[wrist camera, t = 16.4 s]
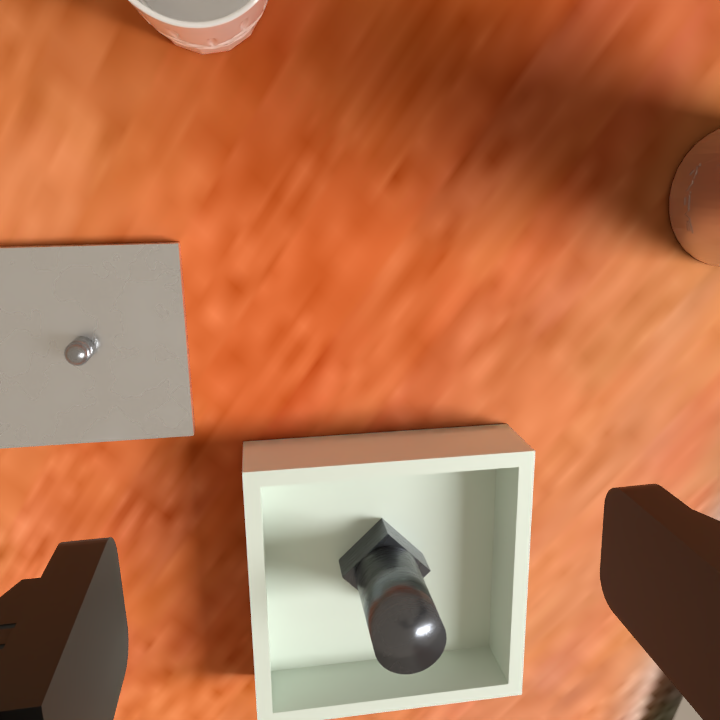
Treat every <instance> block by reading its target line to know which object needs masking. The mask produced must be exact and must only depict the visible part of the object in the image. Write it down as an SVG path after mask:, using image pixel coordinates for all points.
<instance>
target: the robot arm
mask: <svg viewBox="0 0 720 720" xmlns="http://www.w3.org/2000/svg"><path fill="white" fill-rule="evenodd" d="M669 215H670V220H671V225H672V228H673V231H674V233H675V235H676V238H677V240H678V241H679V243H680V244H681V245H682V247H683V248H684V249H685V251H687V252H688V253H689V254H690V255H691V256H693V257H694V258H695V259H697V260H699V261H701V262H704V263H706V264H710V265H715V266H720V129H718V130H716V131H714V132H712V133H710V134H708V135H707V136H706V137H704V138H703V139H702V140H700V141H699V142H698V143H696V145H695V146H694V147H693V148H692V149H691V150H690V151H689V152H688V153H687V155H686V156H685V158H684V159H683V161H682V163H681V164H680V166H679V167H678V170H677V172H676V175H675V177H674V180H673V182H672V187H671V192H670V197H669ZM600 580H601V586H602V590H603V593H604V596H605V599H606V601H607V603H608V605H609V607H610V609H611V610H612V611H613V613H614V614H615V615H616V616H617V617H618V619H619V620H620V621H621V622H622V623H623V625H624V626H625V627H626V628H627V629H628V631H629V632H630V633H631V634H632V635H633V636H634V638H635V639H636V640H637V641H638V642H639V644H640V645H641V646H642V647H643V648H644V650H645V651H646V652H647V653H648V654H649V656H650V657H651V658H652V659H653V660H654V662H655V663H656V664H657V665H658V666H659V668H660V669H661V670H662V671H663V672H664V674H665V675H666V676H667V677H668V678H669V680H670V681H671V682H672V683H673V684H674V686H675V687H676V688H677V689H678V690H679V691H680V693H681V694H682V695H683V696H684V697H685V699H686V700H687V701H688V702H689V703H690V705H691V706H692V707H693V708H694V709H695V711H696V712H697V713H698V714H699V715H700V717H701V718H702V719H703V720H720V521H718V520H716V519H713V518H711V517H709V516H706V515H704V514H702V513H699V512H697V511H695V510H692V509H691V508H689V507H688V506H687V505H685V504H684V503H683V502H681V501H680V500H679V499H677V498H676V497H675V496H673V495H672V494H671V493H669V492H668V491H667V490H665V489H664V488H663V487H661V486H660V485H657V484H647V485H637V486H627V487H618V488H612V489H610V490H609V491H608V493H607V495H606V498H605V504H604V518H603V533H602V548H601V563H600ZM127 659H128V626H127V618H126V611H125V604H124V597H123V589H122V582H121V575H120V567H119V560H118V553H117V548H116V544H115V541H114V539H113V538H111V537H109V538H99V539H89V540H80V541H70V542H61V543H60V544H59V545H58V546H57V548H56V550H55V552H54V554H53V555H52V557H51V559H50V561H49V563H48V565H47V567H46V569H45V571H44V572H43V574H42V576H41V578H34V579H24V580H21V581H20V582H19V583H17V584H16V585H15V586H14V587H12V588H11V589H10V590H9V591H7V592H6V593H5V594H4V595H3V596H1V597H0V720H113V718H114V715H115V711H116V707H117V703H118V699H119V695H120V691H121V687H122V683H123V679H124V676H125V672H126V667H127Z"/></svg>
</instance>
